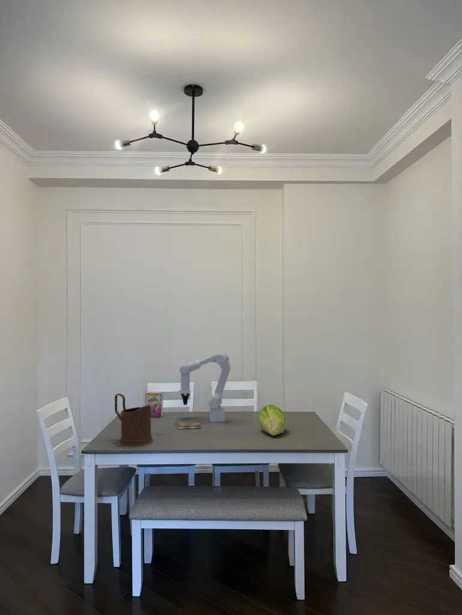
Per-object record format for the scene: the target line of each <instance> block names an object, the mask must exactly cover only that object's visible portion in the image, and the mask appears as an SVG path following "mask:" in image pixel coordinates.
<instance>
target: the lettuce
mask: <svg viewBox="0 0 462 615" xmlns="http://www.w3.org/2000/svg"><path fill="white" fill-rule="evenodd" d="M257 420H258V424H259V425H260V428H261V429H262V430H263V431H264V432H265V433H267V434H269V435H271V436H276V435H279V434H282V433H284V432H285V429H286V427H287V423H286V418H285V416H284V413H283V411H282V410H281V408H280V407H278V406H276V405H274V404H268V405H265V406H263V407H261V408H260V410H259V412H258V415H257Z"/></svg>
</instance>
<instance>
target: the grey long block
mask: <svg viewBox="0 0 462 615" xmlns="http://www.w3.org/2000/svg"><path fill="white" fill-rule="evenodd" d="M203 423H204V421H203V420H200V424H201V425H203ZM174 426H177V421H174Z"/></svg>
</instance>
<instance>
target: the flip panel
mask: <svg viewBox="0 0 462 615" xmlns="http://www.w3.org/2000/svg"><path fill="white" fill-rule="evenodd" d="M201 428H202V424H201V422H182V423H180V422H179V423H177V425H176V429H179V430H181V429H201Z"/></svg>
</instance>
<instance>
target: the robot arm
mask: <svg viewBox="0 0 462 615" xmlns="http://www.w3.org/2000/svg"><path fill="white" fill-rule="evenodd" d="M208 363H216V364H217V365H219V367H220V369H221V371H220V375H219V378H218V382H217V385H216V388H215V390H214V392H213V395H212V397H211V399H210V400H209V402H208V407H209V421H210V422H211V423H219V422H223V424H225V422H226V421H225V420H226V418H225V417H226V416H225V408H222V406H221V405H222V404H223V403H222V402H223V401H222V398H223V393H224V390H225V387H226V385H227V384H226V383H227V382H228V381H227V380H228V377H229V374H230V372H231V364H230V363H231V362H230V358H229V356H228V355H227V354H226V353H225V352H221V353H217V354H212V355H210V356H208V357H205V358H203V359H201V360H198V359H193V360H192V361H191V362H186V363H185V364H183V365H181V366H180V367H179V373H180V390H179V389H178V392H180V396H181V399H182V404H183V405H184V406H187V405H188V401H189V397H190V394H191V393H190V392H191V387H190V386H191V384H190V382H191V379H190V375H191V374H190V373H191V372H194V371H196V370H199V369H201V366H203V365H206V364H208Z"/></svg>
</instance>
